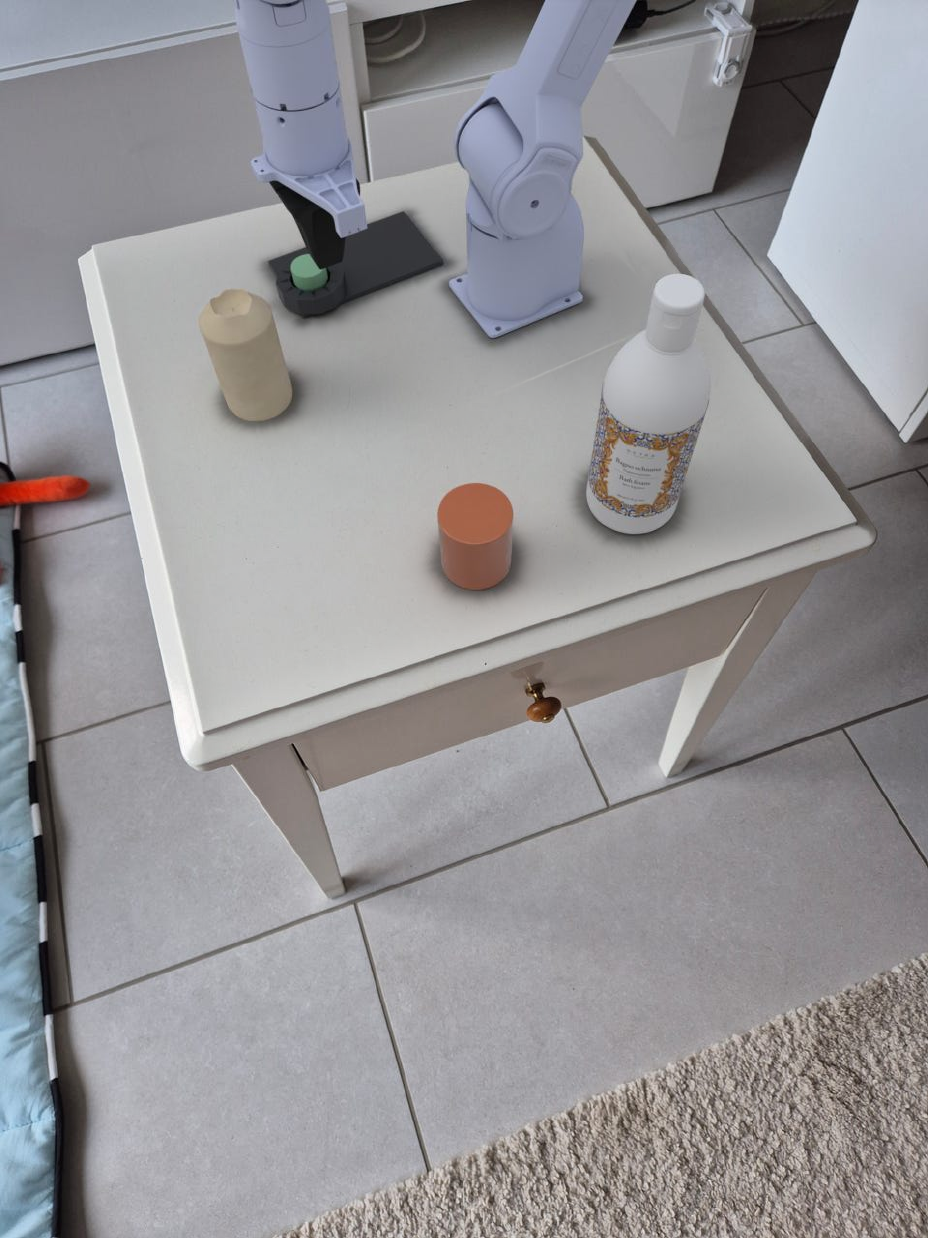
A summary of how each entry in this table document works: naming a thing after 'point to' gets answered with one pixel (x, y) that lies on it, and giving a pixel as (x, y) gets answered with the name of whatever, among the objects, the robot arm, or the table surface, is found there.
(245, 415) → the candle
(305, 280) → the button
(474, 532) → the orange cylinder
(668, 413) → the bath foam
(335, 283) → the scale
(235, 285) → the table surface
